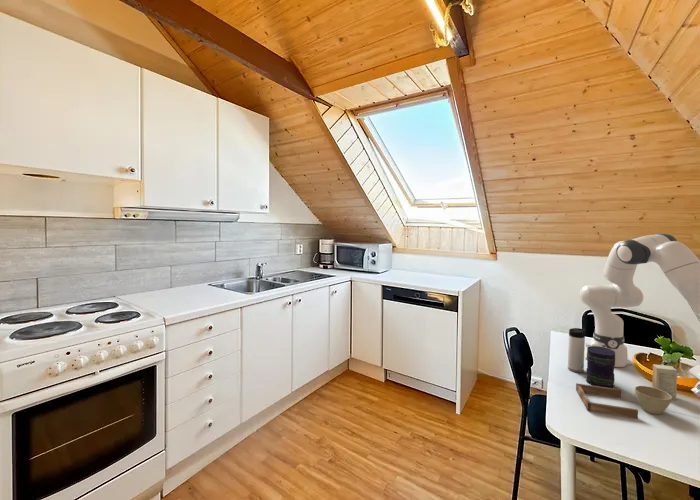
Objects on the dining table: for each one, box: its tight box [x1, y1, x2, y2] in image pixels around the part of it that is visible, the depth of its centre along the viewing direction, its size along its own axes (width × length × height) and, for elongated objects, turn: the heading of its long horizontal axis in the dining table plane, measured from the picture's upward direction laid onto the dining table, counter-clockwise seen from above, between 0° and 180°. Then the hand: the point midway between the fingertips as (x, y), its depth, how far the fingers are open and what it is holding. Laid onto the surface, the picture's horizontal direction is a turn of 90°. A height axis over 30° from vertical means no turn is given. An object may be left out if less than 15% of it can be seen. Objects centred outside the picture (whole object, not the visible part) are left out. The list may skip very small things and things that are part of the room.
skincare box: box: [651, 364, 678, 401], centre depth 130 cm, size 6×4×12 cm
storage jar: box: [585, 345, 616, 389], centre depth 141 cm, size 10×10×18 cm
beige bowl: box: [634, 385, 672, 415], centre depth 121 cm, size 10×10×7 cm
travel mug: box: [567, 327, 587, 373], centre depth 155 cm, size 6×7×20 cm
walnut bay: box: [575, 382, 639, 420], centre depth 127 cm, size 16×15×3 cm
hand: (694, 393), depth 116 cm, fingers closed
